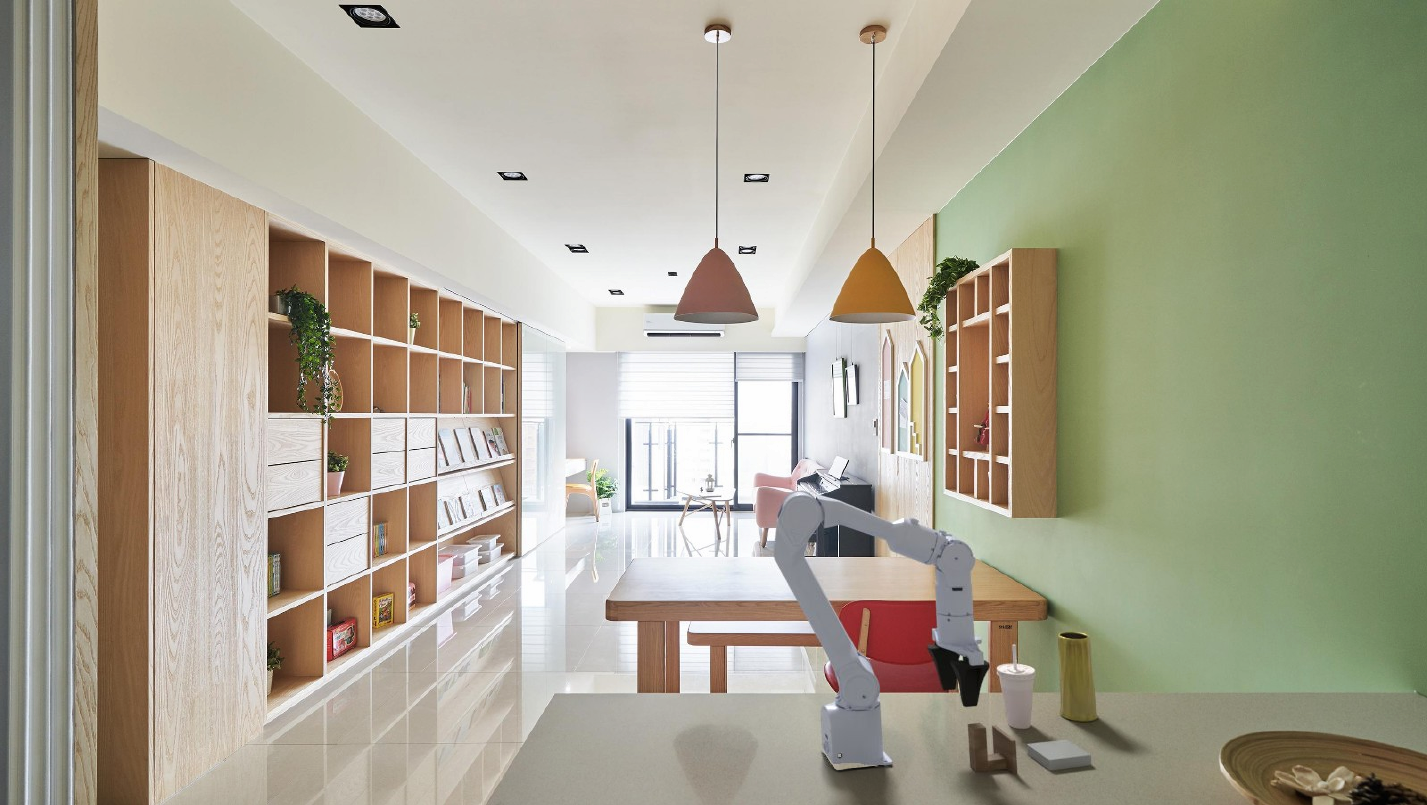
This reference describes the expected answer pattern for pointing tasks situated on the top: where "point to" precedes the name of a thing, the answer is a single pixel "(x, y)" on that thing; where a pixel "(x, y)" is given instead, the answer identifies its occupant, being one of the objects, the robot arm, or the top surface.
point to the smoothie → (1017, 692)
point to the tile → (1058, 754)
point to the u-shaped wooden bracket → (1001, 747)
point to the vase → (1076, 677)
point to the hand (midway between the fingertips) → (959, 697)
